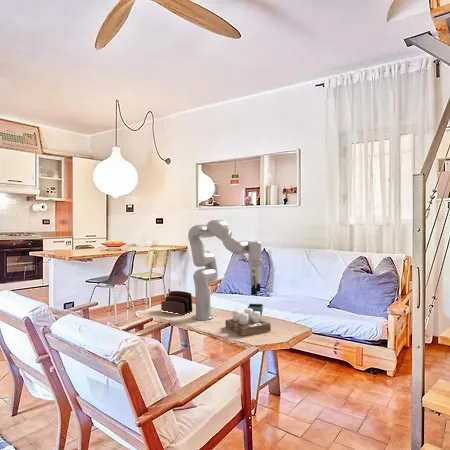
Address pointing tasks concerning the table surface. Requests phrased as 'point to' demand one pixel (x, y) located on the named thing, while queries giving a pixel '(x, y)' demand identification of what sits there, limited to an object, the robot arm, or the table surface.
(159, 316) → the table surface
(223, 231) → the robot arm
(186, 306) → the letter holder
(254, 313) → the button
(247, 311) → the button
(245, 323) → the button
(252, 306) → the flower pot
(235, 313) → the button
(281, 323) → the table surface
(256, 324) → the card
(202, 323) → the table surface
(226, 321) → the board
